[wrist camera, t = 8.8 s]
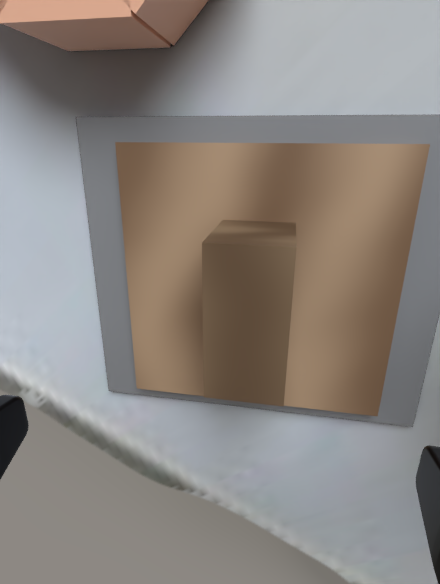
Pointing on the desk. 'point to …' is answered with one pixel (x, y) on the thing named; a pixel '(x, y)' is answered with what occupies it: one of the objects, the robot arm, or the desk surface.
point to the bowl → (102, 22)
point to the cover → (267, 267)
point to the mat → (267, 129)
